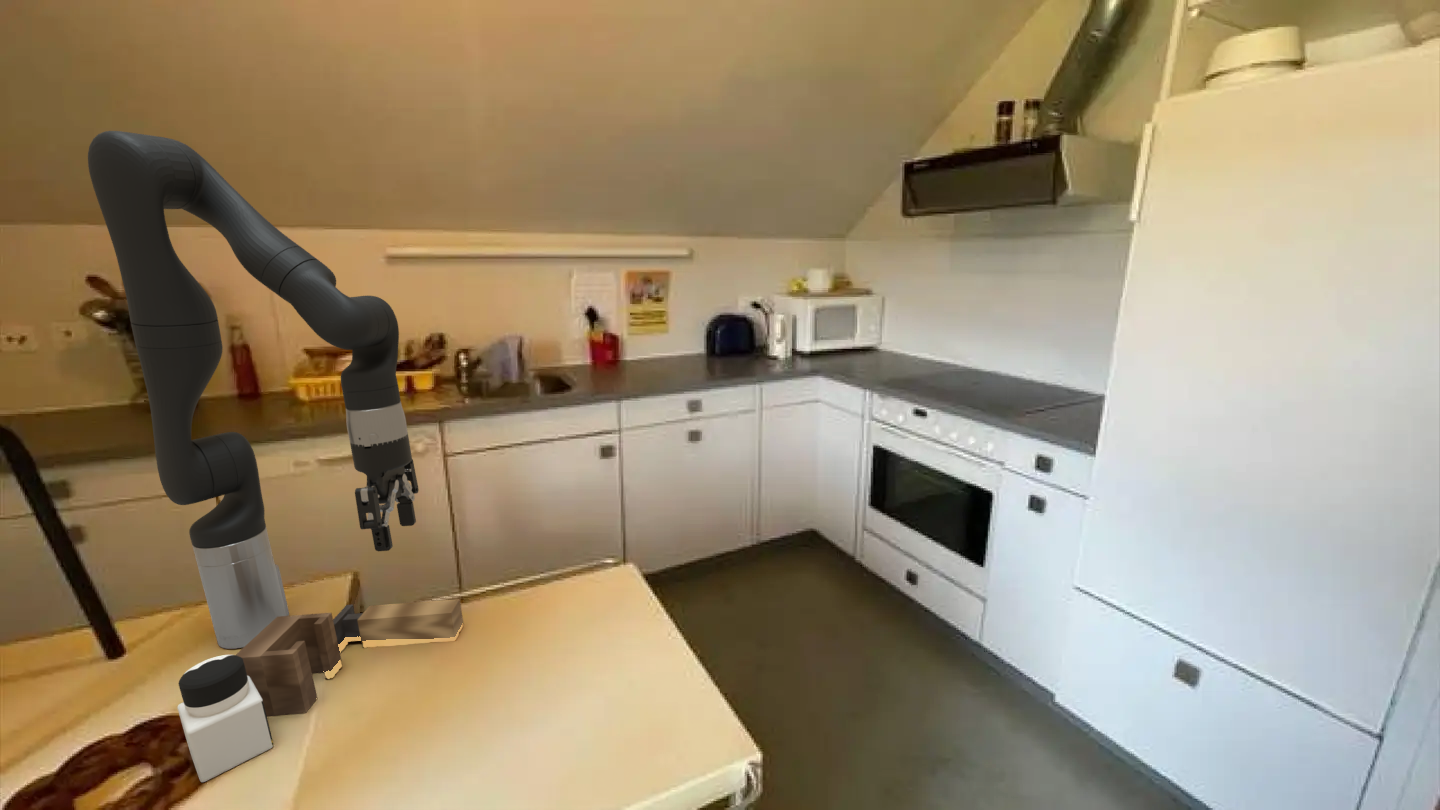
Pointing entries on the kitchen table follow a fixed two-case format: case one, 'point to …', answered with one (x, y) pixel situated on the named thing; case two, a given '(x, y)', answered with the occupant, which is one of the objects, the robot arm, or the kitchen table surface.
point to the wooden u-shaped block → (291, 660)
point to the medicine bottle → (222, 715)
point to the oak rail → (401, 621)
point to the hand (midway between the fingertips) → (396, 537)
